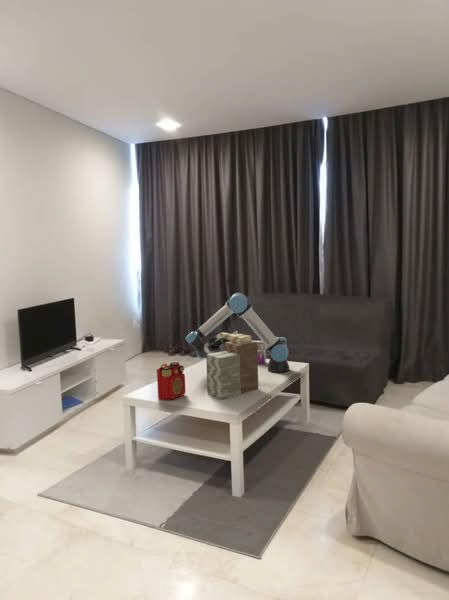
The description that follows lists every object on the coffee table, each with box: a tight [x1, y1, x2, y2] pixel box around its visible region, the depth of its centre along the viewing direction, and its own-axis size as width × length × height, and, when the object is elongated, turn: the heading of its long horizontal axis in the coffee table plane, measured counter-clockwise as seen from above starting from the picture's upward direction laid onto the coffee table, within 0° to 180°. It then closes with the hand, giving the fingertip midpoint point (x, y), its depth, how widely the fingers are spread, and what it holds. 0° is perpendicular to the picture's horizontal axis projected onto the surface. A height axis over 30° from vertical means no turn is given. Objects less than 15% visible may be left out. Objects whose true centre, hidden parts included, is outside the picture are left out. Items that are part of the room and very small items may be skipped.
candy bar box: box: [253, 340, 267, 365], centre depth 339 cm, size 11×5×16 cm, turn 71°
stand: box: [205, 340, 259, 400], centre depth 273 cm, size 14×28×29 cm, turn 128°
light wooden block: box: [218, 331, 252, 345], centre depth 281 cm, size 24×8×4 cm, turn 38°
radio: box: [156, 361, 186, 401], centre depth 268 cm, size 16×10×20 cm, turn 148°
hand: (228, 334), depth 284 cm, fingers open, 13 cm apart
